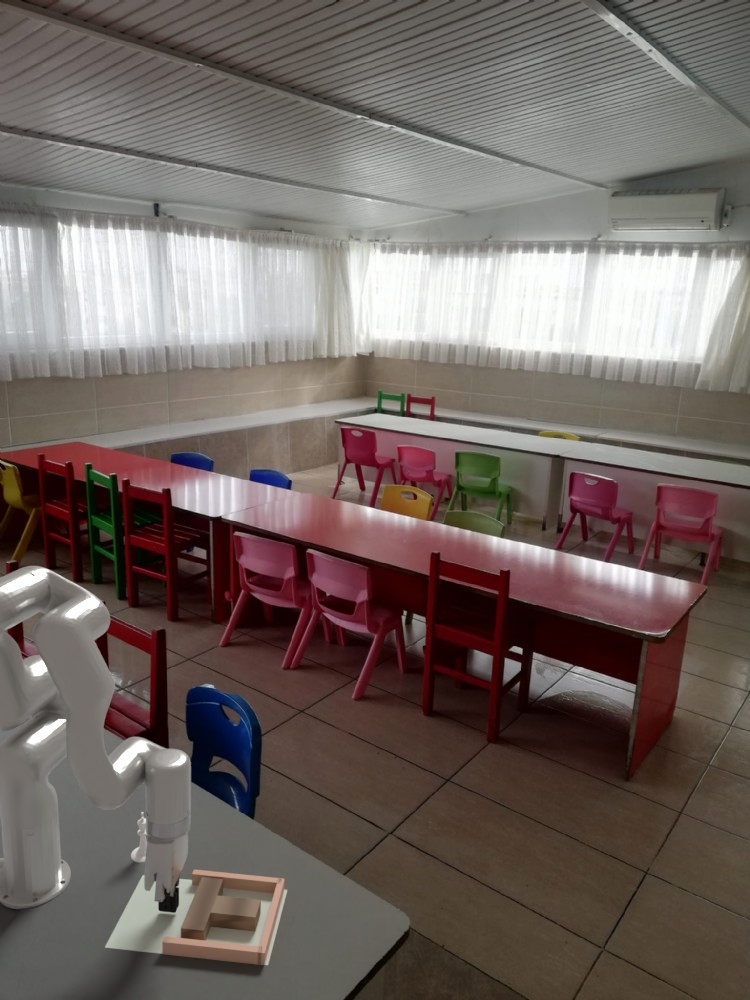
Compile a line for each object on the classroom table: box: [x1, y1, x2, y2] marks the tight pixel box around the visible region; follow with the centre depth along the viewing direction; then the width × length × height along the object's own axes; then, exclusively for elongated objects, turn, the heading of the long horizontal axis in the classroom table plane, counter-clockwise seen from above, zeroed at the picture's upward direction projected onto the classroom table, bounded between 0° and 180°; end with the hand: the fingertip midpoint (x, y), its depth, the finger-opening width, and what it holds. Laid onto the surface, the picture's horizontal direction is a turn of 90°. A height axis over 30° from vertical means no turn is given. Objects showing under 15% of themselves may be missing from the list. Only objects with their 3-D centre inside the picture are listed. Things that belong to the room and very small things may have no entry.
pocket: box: [162, 869, 286, 966], centre depth 133 cm, size 17×17×2 cm
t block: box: [181, 877, 261, 941], centre depth 133 cm, size 12×12×3 cm
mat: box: [104, 874, 288, 967], centre depth 133 cm, size 28×17×1 cm, turn 86°
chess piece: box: [130, 811, 148, 864], centre depth 147 cm, size 5×5×10 cm
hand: (168, 908), depth 134 cm, fingers closed
